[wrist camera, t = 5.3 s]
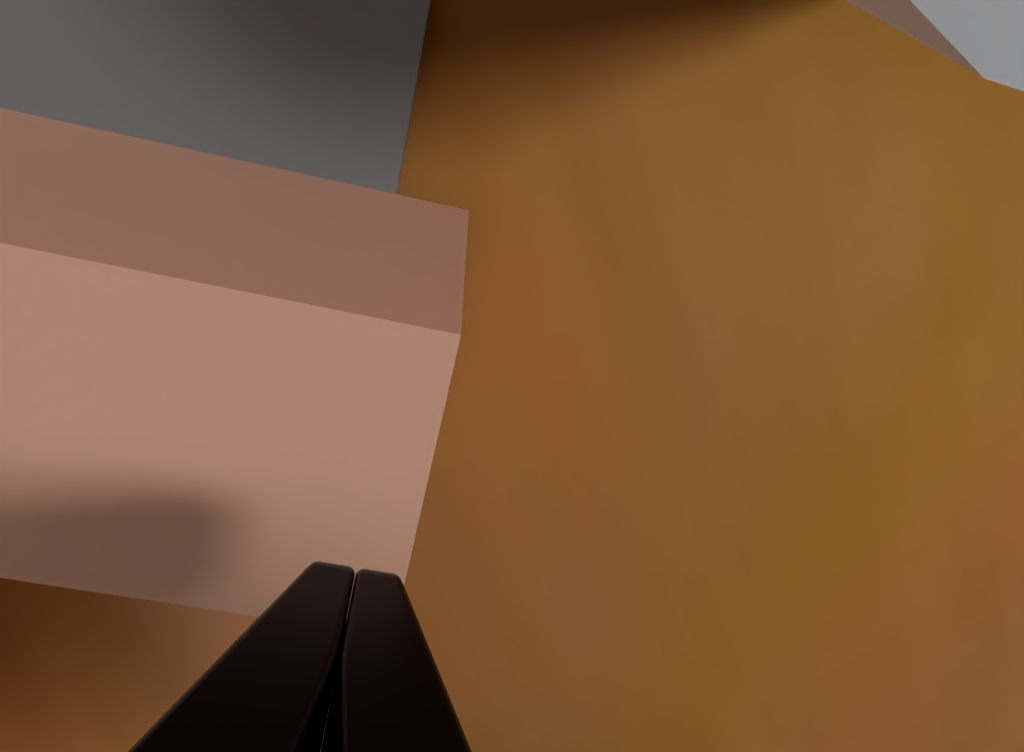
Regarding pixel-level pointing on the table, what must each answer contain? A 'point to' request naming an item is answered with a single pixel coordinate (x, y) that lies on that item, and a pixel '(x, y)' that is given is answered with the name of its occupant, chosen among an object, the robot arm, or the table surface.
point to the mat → (227, 76)
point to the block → (212, 367)
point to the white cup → (963, 32)
